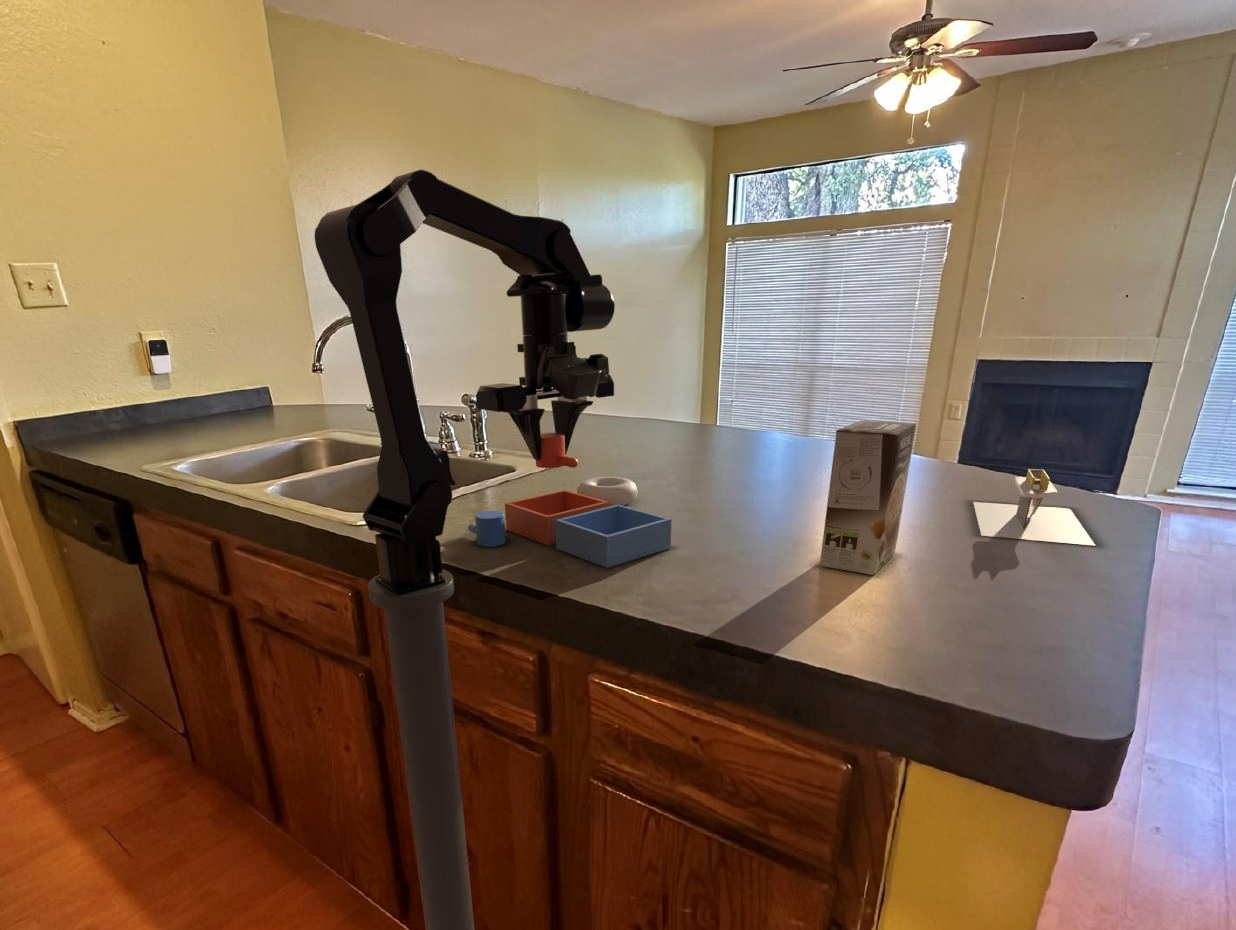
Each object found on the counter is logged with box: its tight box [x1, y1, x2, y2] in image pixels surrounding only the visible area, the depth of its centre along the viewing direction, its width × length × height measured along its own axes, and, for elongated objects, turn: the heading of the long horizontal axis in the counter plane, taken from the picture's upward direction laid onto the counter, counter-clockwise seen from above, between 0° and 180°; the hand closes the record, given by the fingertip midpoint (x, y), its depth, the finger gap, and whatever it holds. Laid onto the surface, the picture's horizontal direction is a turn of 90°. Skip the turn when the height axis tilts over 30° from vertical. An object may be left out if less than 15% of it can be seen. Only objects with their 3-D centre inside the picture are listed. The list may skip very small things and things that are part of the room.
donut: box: [576, 476, 639, 507], centre depth 113 cm, size 10×4×10 cm
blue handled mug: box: [467, 510, 507, 548], centre depth 97 cm, size 8×4×4 cm, turn 36°
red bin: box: [504, 489, 609, 546], centre depth 100 cm, size 11×10×4 cm
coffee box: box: [819, 420, 917, 576], centre depth 81 cm, size 9×6×16 cm
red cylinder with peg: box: [535, 432, 579, 469], centre depth 91 cm, size 8×4×4 cm, turn 35°
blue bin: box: [555, 505, 673, 569], centre depth 91 cm, size 11×10×4 cm
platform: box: [972, 468, 1097, 546], centre depth 94 cm, size 12×18×7 cm, turn 152°
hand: (550, 457), depth 93 cm, fingers closed on red cylinder with peg, 4 cm apart
